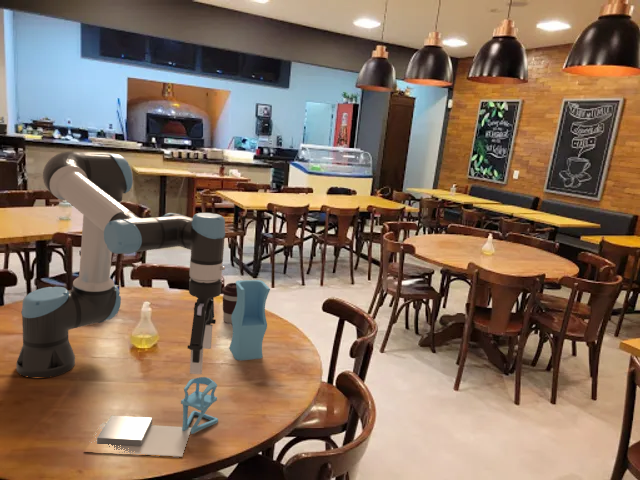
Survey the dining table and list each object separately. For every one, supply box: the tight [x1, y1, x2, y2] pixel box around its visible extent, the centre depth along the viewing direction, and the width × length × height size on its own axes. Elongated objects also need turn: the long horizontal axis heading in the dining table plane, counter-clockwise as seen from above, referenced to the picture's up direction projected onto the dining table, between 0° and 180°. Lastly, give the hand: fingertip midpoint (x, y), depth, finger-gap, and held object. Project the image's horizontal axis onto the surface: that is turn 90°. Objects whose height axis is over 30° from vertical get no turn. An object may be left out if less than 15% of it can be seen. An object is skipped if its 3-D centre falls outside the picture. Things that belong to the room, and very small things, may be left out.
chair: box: [180, 376, 219, 435], centre depth 120 cm, size 8×8×12 cm
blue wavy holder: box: [228, 279, 271, 361], centre depth 161 cm, size 10×10×25 cm
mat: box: [91, 422, 193, 458], centre depth 113 cm, size 22×11×1 cm, turn 94°
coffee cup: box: [221, 282, 237, 325], centre depth 189 cm, size 10×10×15 cm
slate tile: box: [97, 414, 153, 446], centre depth 114 cm, size 10×2×9 cm
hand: (201, 360), depth 117 cm, fingers open, 13 cm apart
